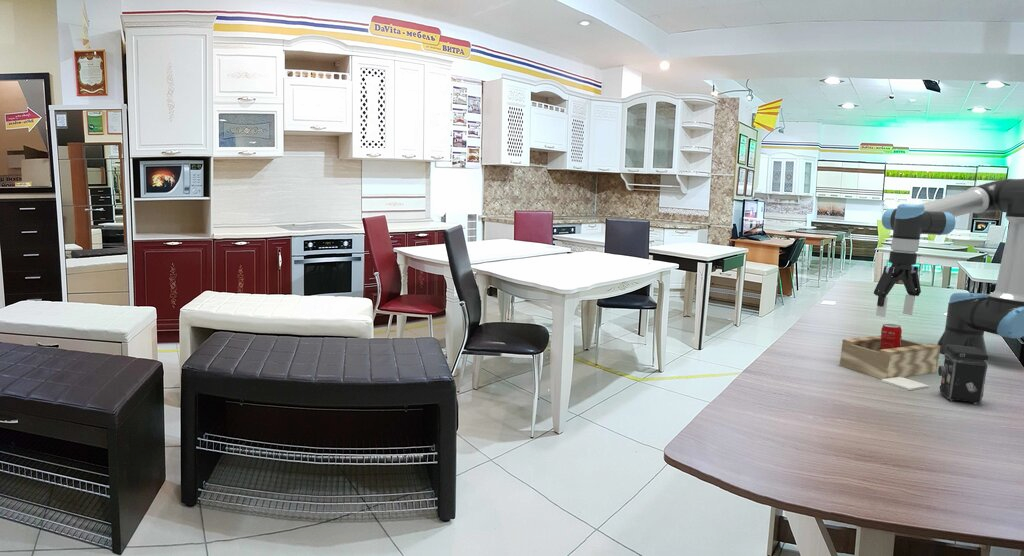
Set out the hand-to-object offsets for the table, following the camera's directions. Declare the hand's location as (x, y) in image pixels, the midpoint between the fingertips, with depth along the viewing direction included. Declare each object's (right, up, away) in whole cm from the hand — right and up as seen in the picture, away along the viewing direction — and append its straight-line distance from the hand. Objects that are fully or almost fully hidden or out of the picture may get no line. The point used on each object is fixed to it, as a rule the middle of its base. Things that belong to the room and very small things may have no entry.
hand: (894, 315), depth 200 cm
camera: (+3, -23, -24) cm, 33 cm away
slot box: (0, -18, +3) cm, 18 cm away
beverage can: (0, -18, +3) cm, 19 cm away
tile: (-5, -21, -13) cm, 25 cm away
